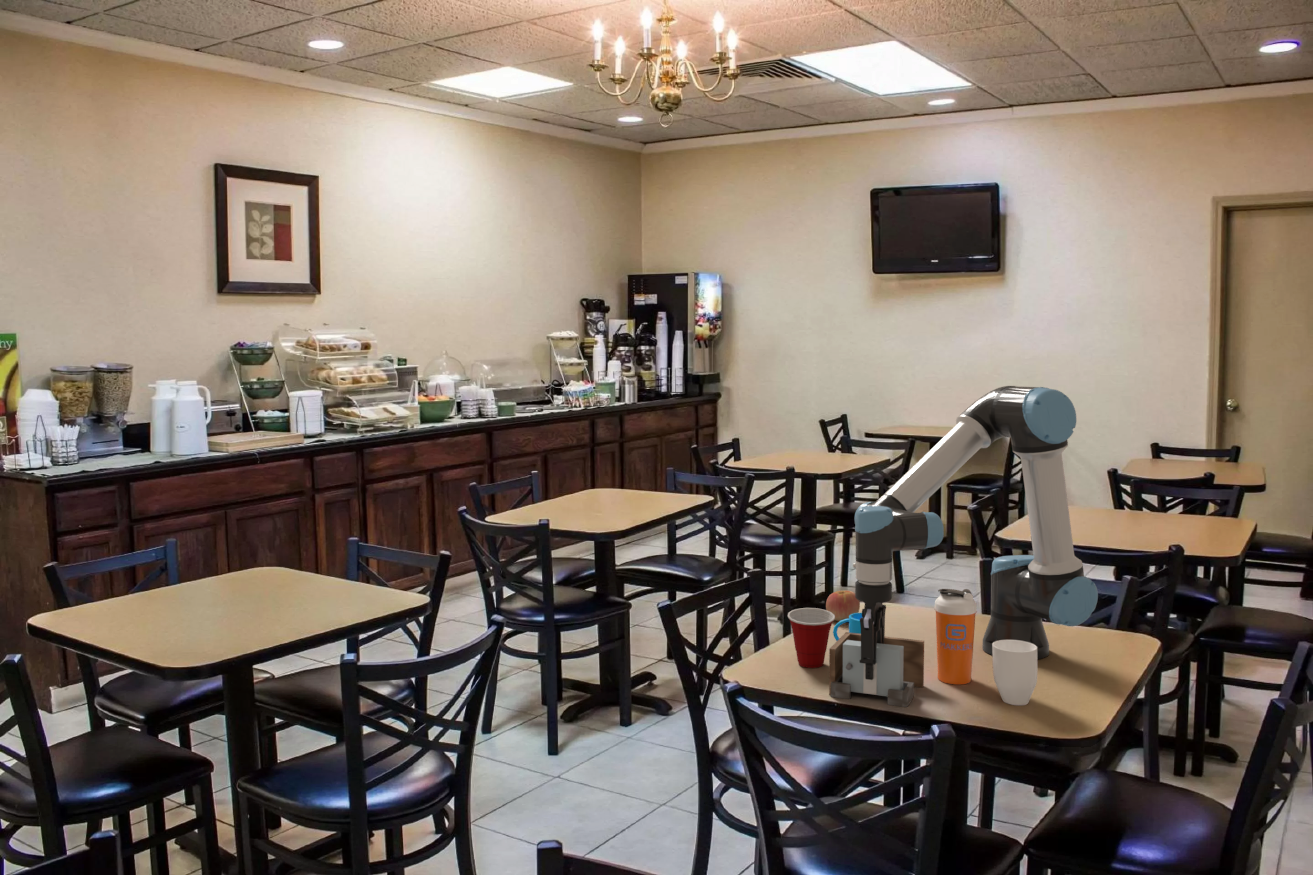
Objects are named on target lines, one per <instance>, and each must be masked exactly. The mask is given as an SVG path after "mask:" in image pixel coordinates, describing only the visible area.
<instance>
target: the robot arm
mask: <svg viewBox="0 0 1313 875" xmlns="http://www.w3.org/2000/svg"><path fill="white" fill-rule="evenodd" d="M1076 412H1077V411H1076V408H1075V405H1074V403H1073V401H1072V400H1071V399H1070V398H1069V397H1068V395H1066V394H1065V393H1064V392H1062V391H1060V390H1058V389H1052V388H1048V387H1044V386H1017V385H1005V386H1000V387H997V388H995V389H992V390H990V391H989V392H987V393H985V394H983V396H981V397H980V398H978V399H977V400H976V401H974V402H973V403H971V404H970V405H969V406H968V407H967V408H966V409H965V410H964V411H963V412H961V414H959V415H958V416H957V417H956V420H955V425H954V426H953V428H952V429H950V430H949V431H948V432H947V433H946V434H945V435H944V436H943V437H941V439H940V440H939V441H938V442H937V443H936V444H935V445H933V447H932V448H931V449H929V450H928V451H927V452H926V453H925V454H924V455H923V456H922V457H921V458H920V459H919V460H918V461H917V462H916V463H915V464H914V465H913V466H912V467H911V468H909V470H908V471H907V472H905V474H903V475H902V476H901V478H899V479H898V480H897V481H896V482H895V483H894V484H893V485H892V486H891V487H890V488H889V489H888V490H887V491H886V492H885V493H883V495H882V496H880V497H879V498H878V499H877V500H876V501H868V502H867V501H865V502H864V503H862V504H860V505H859V506H858V508H857V509H856V510H855V513H854V524H855V526H854V531H855V563H853V564H852V567H853V568H854V569H855V579H856V581H855V583H854V585H855V586H854V593H855V597H856V599H857V600H859V601H860V602H863V603H864V607H863V608H862V609H861V613H862V617H863V618H860V626H861V660H859V661H860V663H864V675H863V693H862V694H866V693H867V694H868V695H873V694H874V695H875V696H877V695H876V694H877V663H876V649H877V643H880V644H884V637H885V636H886V635H885V632H886V630H885V628H886V627H885V626H886V610H887V606H886V604H884V603H888V602H890V601H891V600H892V599H893V584H892V582H891V581H892V580H893V552H898V551H909V550H919V549H923V550H926V549H928V548H934V547H937V546H939V545H940V544H941V543H942V541H943V539H944V534H945V533H944V528H945V527H944V523H943V521H942V519H941V517H940V516H939V515H938V514H937V513H935V512H933V511H931V512H927V511H921V512H916V511H917V510H918V509H920V507H922V505H923V504H924V503H925V502H926V501H928V500H929V499H930V498H931V497H932V496H933V495H934V494H935V493H936V492H937V491H938V490H939V489H940V488H941V487H942V486H943V485H944V484H945V483H946V482H947V481H948V480H949V479H950V478H951V477H953V475H955V474H956V473H957V472H958V470H960V469H961V468H962V466H964V465H965V464H966V463H967V461H969V459H971V458H972V457H973V456H974V455H975V454H976V453H977V452H979V450H980V449H987V448H988V447H991V444H993V443H994V442H995V441H997V440H999V439H1002V438H1010V441H1011V448H1012V449H1011V450H1012V452H1013V453H1014V454H1015V455H1017V456H1018V457H1019V458H1020V461H1021V462H1020V463H1021V469H1022V476H1023V477H1022V478H1023V485H1024V492H1025V499H1026V508H1027V516H1028V522H1029V524H1028V525H1029V531H1030V539H1031V546H1032V554H1033V555H1031V554H1018V555H1017V554H1016V555H1002V556H998V557H996V558H994V559H993V561H992V563H991V572H990V617H989V620H988V624H987V627H986V630H985V631H984V634H983V635H984V636H983V637H982V646H981V647H982V648H981V649H982V650H983V651H984V652H985V653H986V654H989V655H991V656H992V643H993V642H995V641H999V640H1019V641H1025V642H1029V643H1032V644H1034V645H1036V646H1037V660H1041V659H1044V658H1046V657H1048V656H1049V654H1050V642H1049V640H1048V637H1047V634H1046V631H1045V627H1044V624H1043V620H1046V621H1049V622H1052V623H1053V624H1054V625H1062V626H1065V627H1077V626H1079V625H1081V624H1083V623H1084V622H1086V621H1088V619H1089V618H1090V617H1091V616H1092V613H1093V612H1094V611H1095V610H1096V607H1097V603H1098V598H1099V594H1098V593H1099V592H1098V587H1097V586H1096V584H1095V582H1094V581H1092V579H1091V578H1089V577H1086V576H1085V573H1084V566H1083V565H1084V564H1083V561H1082V560H1081V559H1079V557H1077V556H1076V555H1075V550H1074V540H1073V536H1072V535H1073V533H1072V526H1071V519H1070V511H1069V509H1070V508H1069V502H1068V493H1067V485H1066V479H1065V478H1066V477H1065V470H1064V460H1063V452H1064V451H1065V450H1066V449H1067V447H1068V444H1069V440H1068V439H1070V438H1071V437H1072V435H1073V433H1074V429H1075V428H1076V426H1077V413H1076ZM867 694H866V695H867ZM874 695H873V696H874Z"/></svg>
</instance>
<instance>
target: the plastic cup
mask: <svg viewBox="0 0 1313 875" xmlns="http://www.w3.org/2000/svg"><path fill="white" fill-rule="evenodd" d="M787 618H788V619H789V622H790V626H791V629H792V635H793V642H794V649H795V651H796V652H795V654H796V658H797V662H798V665H799V666H800V667H803V668H808V669H815V668H816V669H817V668H818V669H819V668H822V667H823V666H824V663H825V658H826V652H827V649H828V648H827V647H828V642H829V637H830V631H831V628H832V624H833V622H834V621H835V620H834V619H835V615H834V614H833V613H832V612H829V611H827V610H826V609H822V608H818V607H817V608H816V607H803V608H795V609H792V610H791V611H789V612H787Z"/></svg>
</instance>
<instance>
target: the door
mask: <svg viewBox="0 0 1313 875" xmlns="http://www.w3.org/2000/svg"><path fill="white" fill-rule="evenodd" d="M903 656H904V646H898V645H889V644H880V643H877V649H876V663H877V694H876V695H875V696H882V697H888V689H894V690H902V691H903ZM859 660H861V641H853V640H846V641H845V643H844V644H843V683H848V684H851V692H852V693H858V694H864V693H863V675H864V663H860V661H859ZM865 694H866V695H867V693H865ZM872 695H873V696H874V694H872Z"/></svg>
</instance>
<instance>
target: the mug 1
mask: <svg viewBox="0 0 1313 875" xmlns="http://www.w3.org/2000/svg"><path fill="white" fill-rule="evenodd" d="M860 618H863V617H862V612H859V613H854V614H851V615H850V616H849V619H844V620H841V621H837V623H836V624H835V625H834V627H833V630H832V635H833V639H834V640H835V641H836V642H837V641H838V640H839V639H840V637H839V636H838V630H839V627H840V626H841V625H843V624H845V623H848V632H849V633H858V634H861V626H860Z"/></svg>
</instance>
